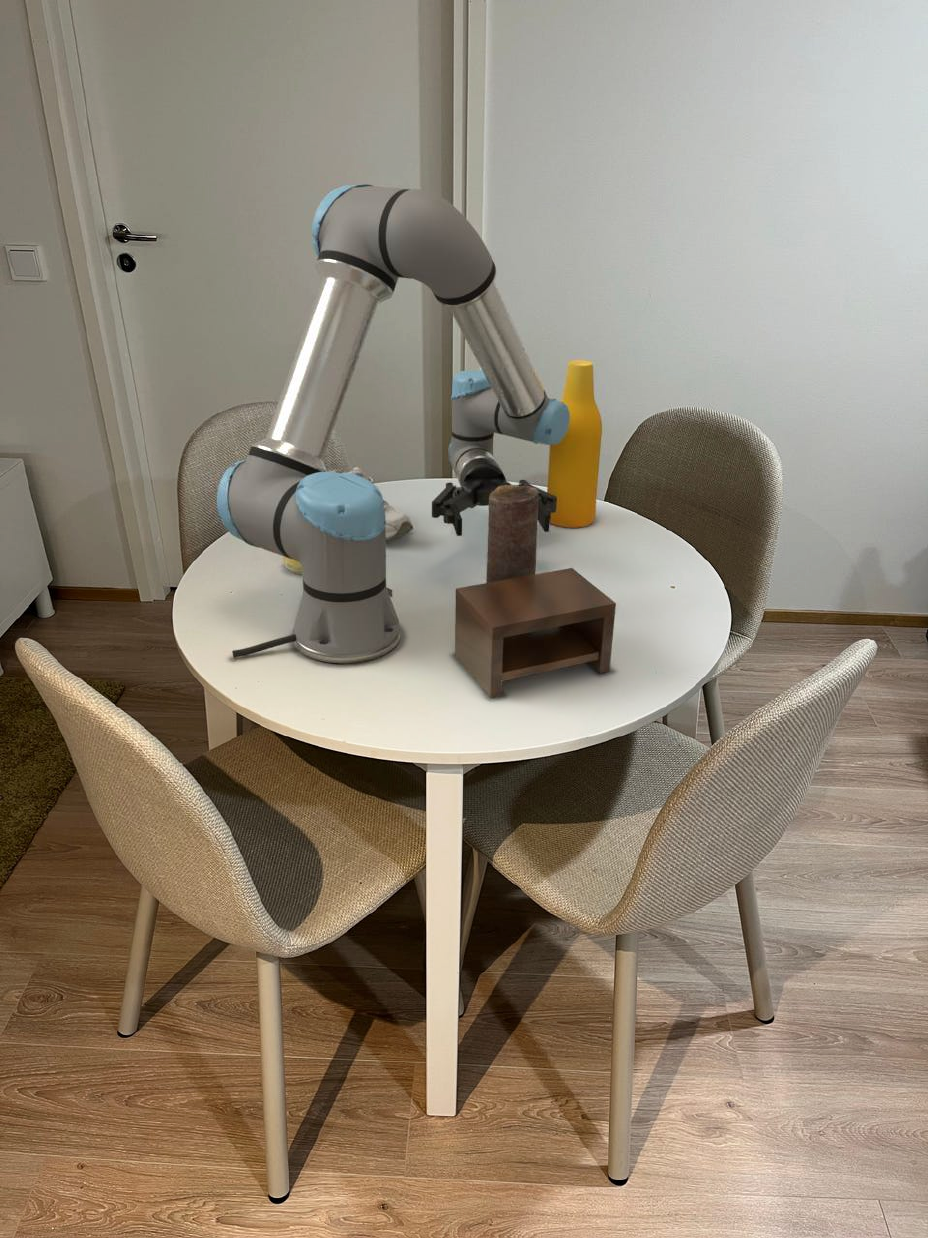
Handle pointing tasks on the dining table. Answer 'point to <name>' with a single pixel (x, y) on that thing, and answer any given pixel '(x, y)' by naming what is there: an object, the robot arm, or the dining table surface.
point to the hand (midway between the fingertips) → (503, 525)
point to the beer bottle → (577, 452)
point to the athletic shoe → (388, 513)
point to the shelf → (532, 626)
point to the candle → (512, 532)
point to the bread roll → (292, 565)
